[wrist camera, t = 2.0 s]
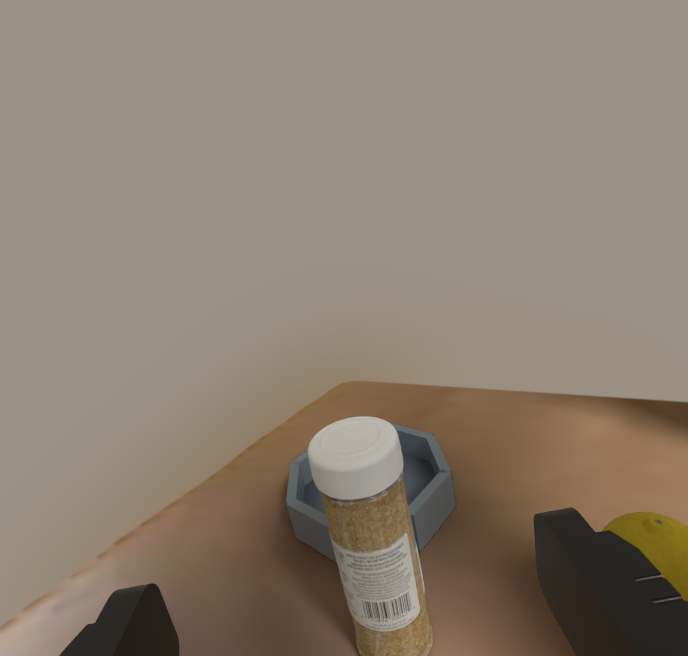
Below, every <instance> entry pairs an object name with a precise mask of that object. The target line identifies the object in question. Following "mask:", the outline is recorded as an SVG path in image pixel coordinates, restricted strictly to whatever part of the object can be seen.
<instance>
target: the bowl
mask: <svg viewBox="0 0 688 656" xmlns="http://www.w3.org/2000/svg"><path fill="white" fill-rule="evenodd" d="M390 424H391V425H392V426H393V427H394V428H395V429H396V431H397V433H398V437H399V441H400V446H401V451H402V456H403V462H404V464H403V477H402V478H403V482H404V487H405V493H406V499H407V503H408V507H409V513H410V518H411V523H412V528H413V533H414V539H415V542H416V544H417V548H418V552H421V551H422V549H423V548H424V547H425V545H426V544H427V543H428V542H429V540H430V539H431V538H432V537H433V535H434V534H435V533H436V531H437V530H438V529H439V528H440V526H441V525H442V524H443V522H444V521H445V520H446V519H447V517H448V516H449V515H450V513H451V512H452V511H453V510H454V508H455V507H456V500H455V493H454V486H453V478H452V471H451V469H450V467H449V465H448V463H447V460H446V458H445V456H444V454H443V452H442V450H441V448H440V446H439V444H438V441H437V439H436V437H435V435H433V434H430V433H426V432H423V431H419V430H415V429H411V428H408V427H404V426H400V425H397V424H393V423H390ZM286 506H287V510H288V513H289V517H290V521H291V524H292V528H293V531H294V535H295V537H296V538H297V539H299V540H300V541H302V542H304V543H305V544H307V545H309V546H310V547H312V548H313V549H315V550H317V551H318V552H320V553H321V554H323V555H325V556H326V557H328V558H329V559H331V560H333V561H334V562H336V563H337V561H336V557H335V553H334V549H333V545H332V541H331V537H330V533H329V525H328V521H327V517H326V512H325V508H324V505H323V500H322V496H321V494H320V493H319V491H318V489H317V487H316V485H315V483H314V480H313V476H312V472H311V468H310V463H309V459H308V450H307V451H306V452H304V453H303V454H302V455H300V456H299V457H298V458H296V459H295V460H294V461H292V463H291V465H290V472H289V480H288V488H287V496H286Z"/></svg>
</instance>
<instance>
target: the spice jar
mask: <svg viewBox="0 0 688 656" xmlns="http://www.w3.org/2000/svg"><path fill="white" fill-rule="evenodd" d="M308 459H309V463H310V468H311V472H312V476H313V480H314V483H315V485H316V487H317V489H318V491H319V493H320V494H321V496H322V500H323V505H324V508H325V512H326V517H327V521H328V525H329V533H330V537H331V541H332V545H333V549H334V553H335V557H336V561H337V565H338V569H339V573H340V577H341V581H342V585H343V589H344V593H345V597H346V600H347V604H348V608H349V610H350V612H351V615H352V620H353V623H354V627H355V631H356V644H357V648H358V651H359V654H360V655H361V656H427V655H428V653H429V652H430V649H431V647H432V645H433V626H432V624H431V620H430V616H429V614H428V610H427V605H426V600H425V595H424V592H425V587H424V581H423V575H422V570H421V564H420V559H419V554H418V548H417V544H416V542H415V539H414V533H413V528H412V523H411V518H410V513H409V507H408V503H407V499H406V493H405V487H404V482H403V478H402V477H403V464H404V462H403V456H402V451H401V446H400V441H399V437H398V433H397V431H396V429H395V428H394V427H393V426H392V425H391V424H390V423H389V422H387V421H385V420H383V419H380V418H376V417H367V416H361V417H351V418H346V419H343V420H340V421H337V422H334V423H332V424H330V425H328V426H326V427H324V428H323V429H322V430H320V431H319V432H318V433H317V434H316V435H315V436H314V437H313V438H312V440H311V441H310V443H309V446H308Z"/></svg>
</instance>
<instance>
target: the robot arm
mask: <svg viewBox="0 0 688 656" xmlns="http://www.w3.org/2000/svg"><path fill="white" fill-rule="evenodd" d="M534 533H535V547H536V562H537V573H538V578H539V582H540V585H541V589H542V591H543V594H544V597H545V599H546V601H547V603H548V605H549V607H550V609H551V611H552V613H553V614H554V616H555V618H556V620H557V621H558V623H559V625H560V627H561V629H562V630H563V632H564V634H565V636H566V637H567V639H568V641H569V643H570V645H571V646H572V648H573V650H574V652H575V654H576V655H577V656H688V602H687V601H686V600H683V599H682V597H681V594H680V593H679V592H678V591H677V590H676V589H675V588H674V587H673V585H672V584H671V583H670V582H669V581H668V580H667V579H666V578H663V577H662V575H661V572H660V571H659V570H658V569H657V568H656V567H655V566H654V565H653V564H652V563H651V562H650V560H649V559H648V558H647V557H646V556H645V555H644V554H643V553H642V552H641V551H640V550H639V548H637V547H635V546H634V545H632V544H631V543H629V542H627V541H626V540H624V539H623V538H621V537H620V536H618V535H616V534H615V533H613V532H612V531H610V530H607V531H602V532H596V533H595V531H594V530H593V529H592V528H591V527H590V525H589V524H588V523H587V522H586V521H585V519H584V518H583V517H582V516H581V515H580V513H579V512H578V511H577V510H575V509H574V508H566V509H560V510H555V511H549V512H544V513H539V514H535V516H534ZM60 656H179V641H178V636H177V633H176V631H175V628H174V625H173V623H172V620H171V618H170V615H169V613H168V610H167V607H166V605H165V602H164V600H163V597H162V595H161V592H160V590H159V588H158V586H157V585H156V584H153V583H152V584H146V585H141V586H136V587H130V588H125V589H119V590H116V591H115V592H113V593H112V594H111V596H110V597H109V599H108V600H107V602H106V604H105V606H104V608H103V609H102V611H101V613H100V615H99V617H98V619H97V620H96V622H95V623H93V624H88V625H86V626H85V627H84V629H83V630H82V631H81V632H80V633H79V634H78V635H77V636H76V637H75V638H74V640H73V641H72V642H71V643H70V644H69V645H68V646H67V647H66V648H65V649H64V650H63V652H62V653H61V654H60Z"/></svg>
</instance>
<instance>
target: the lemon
mask: <svg viewBox="0 0 688 656" xmlns="http://www.w3.org/2000/svg"><path fill="white" fill-rule="evenodd" d="M607 530H610V531H612V532H613V533H615V534H616V535H618V536H620V537H621V538H623V539H624V540H626V541H627V542H629V543H631V544H632V545H634V546H635V547H637V548H639V550H640V551H641V552H642V553H643V554H644V555H645V556H646V557H647V558H648V559H649V560H650V562H651V563H652V564H653V565H654V566H655V567H656V568H657V569H658V570H659V571H660V572H661V575H662V577H663V578H666V579H667V580H668V581H669V582H670V583H671V584H672V585H673V587H674V588H675V589H676V590H677V591H678V592H679V593H680V594H681V597H682V599H683V600H686V601H687V602H688V526H686V525H684V524H683V523H681V522H679V521H677V520H675V519H672V518H670V517H667V516H664V515H661V514H656V513H650V512H636V513H630V514H626V515H623V516H620V517H618V518H615V519H614V520H613V521H611V522H610V523H609V524H608V525H607V526H605V527H604V529H603V530H602V531H607Z"/></svg>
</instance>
